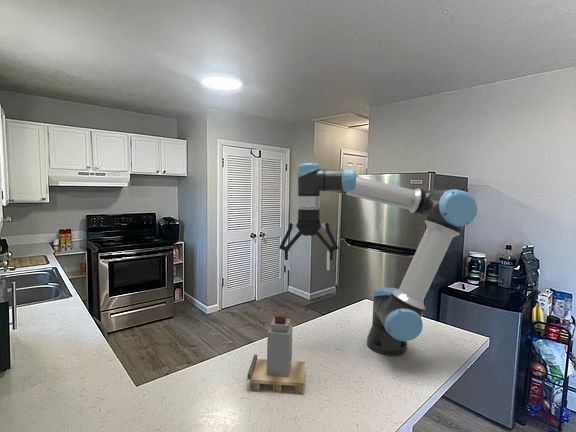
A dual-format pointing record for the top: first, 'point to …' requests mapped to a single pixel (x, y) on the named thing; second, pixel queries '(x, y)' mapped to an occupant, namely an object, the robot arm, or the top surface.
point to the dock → (260, 376)
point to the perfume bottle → (279, 346)
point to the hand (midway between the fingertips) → (308, 269)
